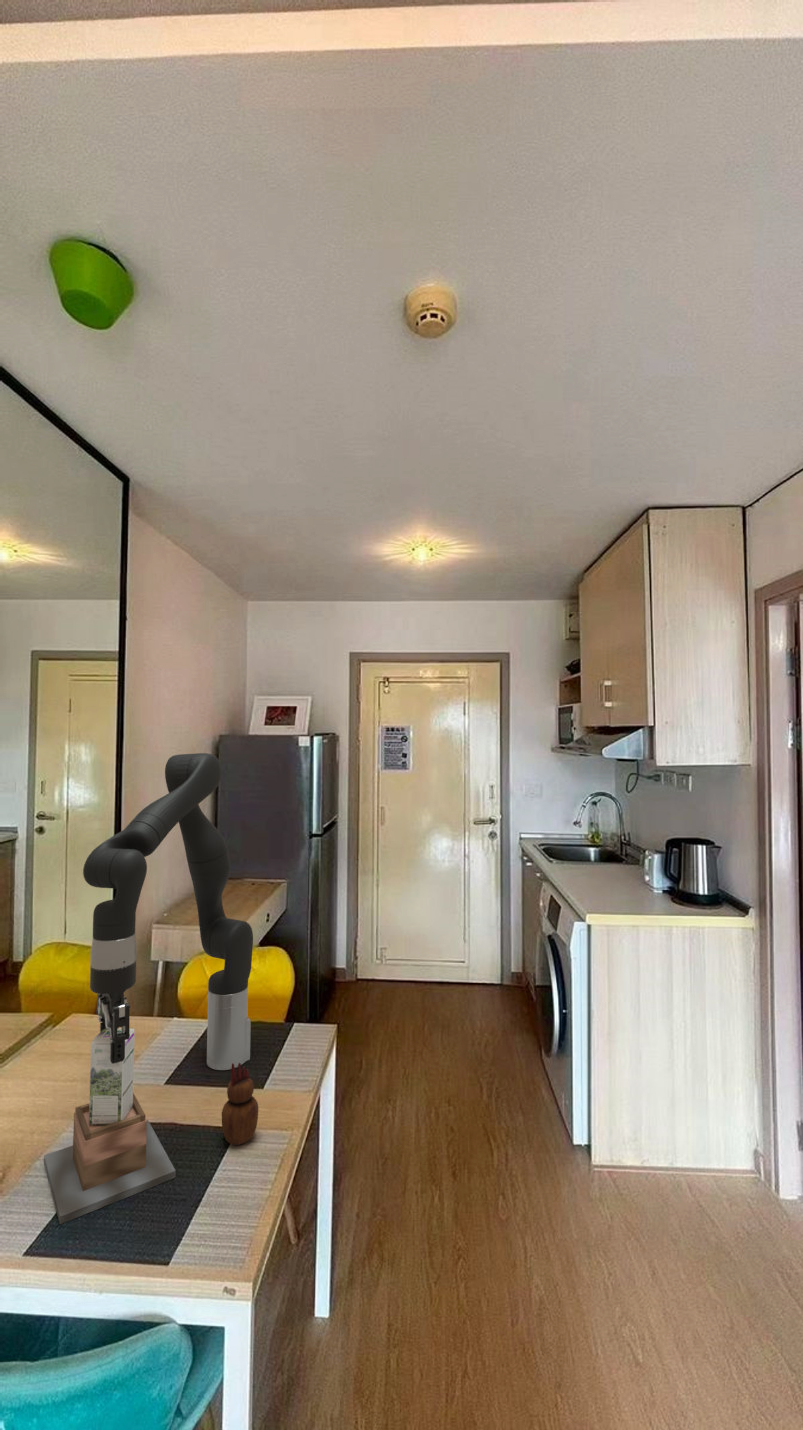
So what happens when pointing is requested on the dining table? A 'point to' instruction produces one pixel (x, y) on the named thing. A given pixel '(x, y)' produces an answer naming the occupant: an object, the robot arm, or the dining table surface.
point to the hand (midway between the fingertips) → (111, 1051)
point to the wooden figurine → (240, 1108)
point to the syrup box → (110, 1081)
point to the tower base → (105, 1191)
